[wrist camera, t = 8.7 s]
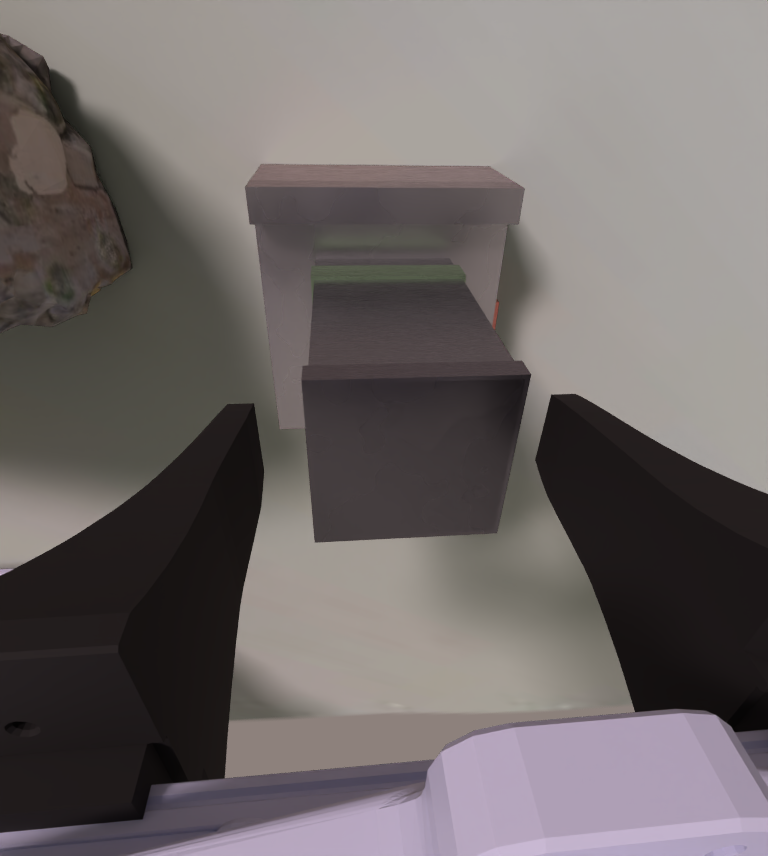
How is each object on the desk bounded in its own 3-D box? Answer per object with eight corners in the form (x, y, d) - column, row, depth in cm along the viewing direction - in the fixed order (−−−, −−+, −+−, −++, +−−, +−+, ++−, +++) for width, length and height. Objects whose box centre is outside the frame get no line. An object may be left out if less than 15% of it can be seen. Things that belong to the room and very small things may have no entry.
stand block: (465, 385, 23) (487, 436, 20) (285, 390, 23) (277, 444, 19) (493, 166, 18) (529, 188, 15) (260, 164, 17) (245, 186, 14)
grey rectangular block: (441, 376, 19) (497, 533, 13) (319, 379, 19) (314, 542, 13) (453, 255, 17) (531, 374, 10) (312, 255, 16) (301, 380, 10)
